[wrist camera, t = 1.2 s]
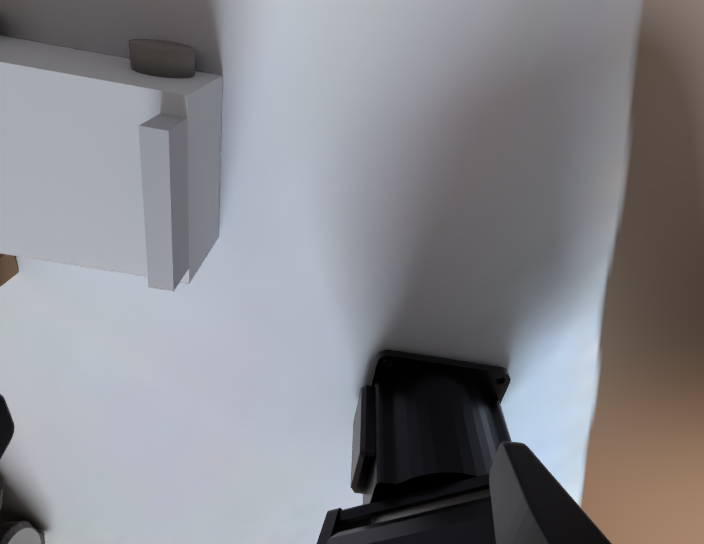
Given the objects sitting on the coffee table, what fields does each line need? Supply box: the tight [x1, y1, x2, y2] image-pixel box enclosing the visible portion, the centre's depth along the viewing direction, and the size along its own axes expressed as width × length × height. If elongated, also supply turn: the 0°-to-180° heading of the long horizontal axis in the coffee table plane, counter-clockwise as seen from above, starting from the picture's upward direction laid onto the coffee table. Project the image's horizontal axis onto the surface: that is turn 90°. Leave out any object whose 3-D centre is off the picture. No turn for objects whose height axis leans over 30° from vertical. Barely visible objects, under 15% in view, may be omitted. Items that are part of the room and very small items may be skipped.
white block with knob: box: [0, 35, 223, 291], centre depth 16 cm, size 10×8×6 cm
